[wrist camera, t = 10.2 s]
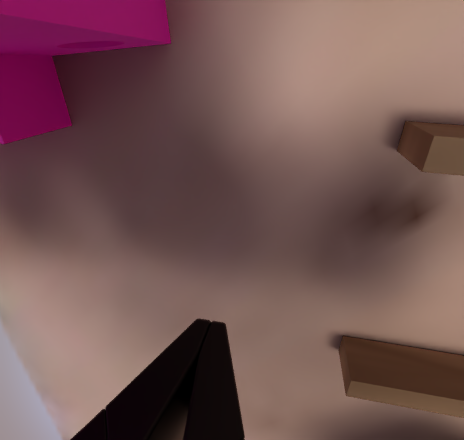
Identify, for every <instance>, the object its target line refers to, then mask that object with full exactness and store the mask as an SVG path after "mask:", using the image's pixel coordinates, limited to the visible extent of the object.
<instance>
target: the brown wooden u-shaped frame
mask: <svg viewBox="0 0 464 440" xmlns="http://www.w3.org/2000/svg"><path fill="white" fill-rule="evenodd" d="M397 151H398V152H399V153H400V154H401V155H403V156H404V157H405V158H406V159H407V160H409V161H410V162H411V163H412V164H413V165H415V166H416V167H417V168H418V169H419V170H421V171H422V172H430V173H441V174H451V175H462V176H464V125H450V124H437V123H423V122H410V121H405V125H404V128H403V132H402V135H401V138H400V142H399V145H398V149H397ZM339 355H340V362H341V368H342V374H343V380H344V386H345V393H346V396H349V397H354V398H360V399H365V400H370V401H376V402H381V403H386V404H392V405H397V406H402V407H408V408H413V409H418V410H424V411H429V412H434V413H440V414H445V415H450V416H456V417H461V418H464V356H463V355H456V354H450V353H444V352H438V351H432V350H426V349H420V348H414V347H408V346H401V345H395V344H389V343H383V342H377V341H371V340H365V339H359V338H352V337H346V336H343V337H342V341H341V344H340V348H339Z"/></svg>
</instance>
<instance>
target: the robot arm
mask: <svg viewBox="0 0 464 440" xmlns="http://www.w3.org/2000/svg"><path fill="white" fill-rule="evenodd" d="M244 438H245V435H244V429H243V424H242V418H241V412H240V406H239V400H238V394H237V388H236V382H235V376H234V370H233V364H232V358H231V352H230V346H229V341H228V335H227V329H226V324H225V323H223V322H217V321H212V322H211V321H210V320H205V319H196V320H195V321H194V322H193V323H192V324H191V325H190V326H189V327H188V328H187V329H186V330H185V331H184V332H183V333H182V334H181V335H180V336H179V337H178V338H177V339H175V340H174V341H173V342H172V343H171V344H170V345H169V346H168V347H167V348H166V349H165V350H164V351H163V352H162V353H161V354H160V355H159V356H158V357H157V358H156V359H155V360H154V361H153V362H152V363H151V364H149V365H148V366H147V367H146V368H145V369H144V370H143V371H142V372H141V373H140V374H139V375H138V376H137V377H136V378H135V379H134V380H133V381H132V382H131V383H130V384H129V385H128V386H127V387H126V388H125V389H123V390H122V391H121V392H120V393H119V394H118V395H117V396H116V397H115V398H114V399H113V400H112V401H111V402H110V403H109V404H108V405H107V406H106V408H105V409H102V410H101V411H100V412H99V413H98V414H97V415H96V416H95V417H94V418H93V419H92V420H91V421H90V422H89V423H88V424H87V425H86V426H85V427H84V428H82V429H81V430H80V431H79V432H78V433H77V434H76V435H75V436H74V437H73V438H72V439H70V440H245V439H244Z"/></svg>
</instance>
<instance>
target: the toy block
mask: <svg viewBox="0 0 464 440" xmlns="http://www.w3.org/2000/svg"><path fill="white" fill-rule="evenodd" d="M161 44H171V40H170V32H169V25H168V18H167V11H166V4H165V0H0V143H1V144H7V143H10V142H14V141H18V140H21V139H25V138H28V137H32V136H36V135H39V134H43V133H47V132H50V131H54V130H58V129H61V128H65V127H68V126H72V123H71V120H70V116H69V113H68V110H67V106H66V103H65V99H64V96H63V92H62V89H61V86H60V82H59V79H58V75H57V72H56V68H55V65H54V62H53V58H52V56H56V55H66V54H75V53H85V52H94V51H104V50H114V49H123V48H133V47H142V46H152V45H161Z"/></svg>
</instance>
